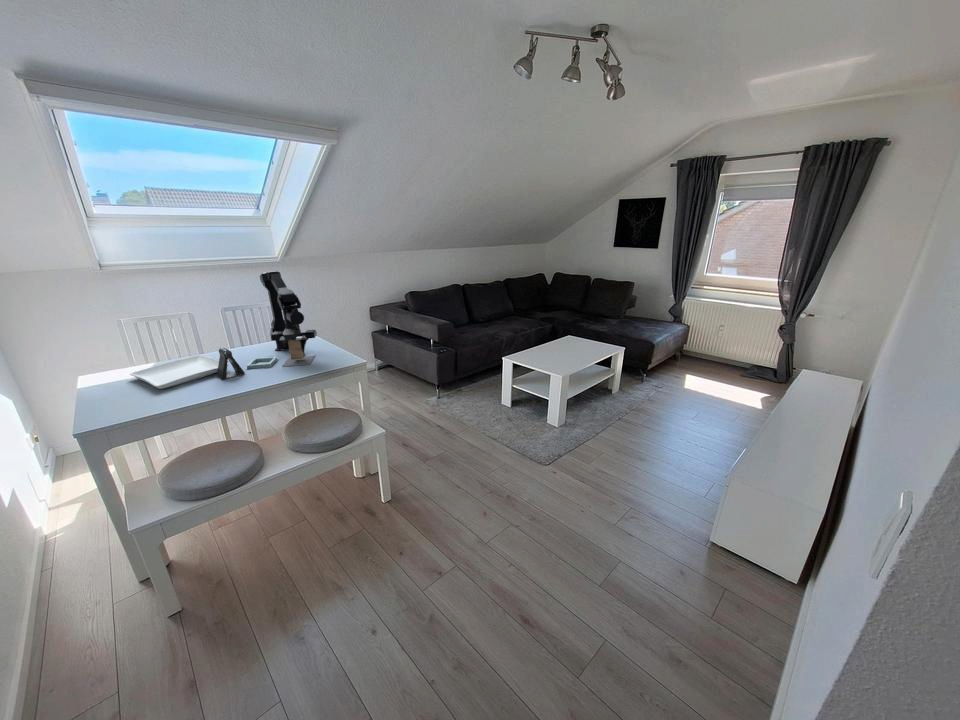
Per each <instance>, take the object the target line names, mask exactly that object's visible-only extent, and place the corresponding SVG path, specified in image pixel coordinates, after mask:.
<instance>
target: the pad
mask: <svg viewBox="0 0 960 720" xmlns="http://www.w3.org/2000/svg"><path fill="white" fill-rule="evenodd" d="M315 357H316V355H305V356H304V358H303V359H293V360H291V356H290V357H288V358H287V359H286V361H284V363H283V364H282V365H281V367H282V368H284V367H297V366H298V367H299V366H308V365H309V366H310V365H311V364H312V362H313V360H314V358H315Z"/></svg>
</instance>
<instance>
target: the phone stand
mask: <svg viewBox="0 0 960 720" xmlns="http://www.w3.org/2000/svg"><path fill="white" fill-rule="evenodd" d="M218 353H219V359H218V360H219V365H218V371H217V372H216V377H217V378H219V379H220V380H223V381H224V380H229V379H230V378H235V377H238V376H242V375H245V374H246V373H245V371H244V369H242V367H241V366H240V364H239V363H238V362H237V361H236V359H235V358H234V357H233V352H232V351H231V350H229V349H227V348H226V347H223V348H219V349H218ZM228 362H229V363H230V365H231V366H232V368H233V370H234V371H230V372H228V366H227V364H228Z"/></svg>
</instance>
